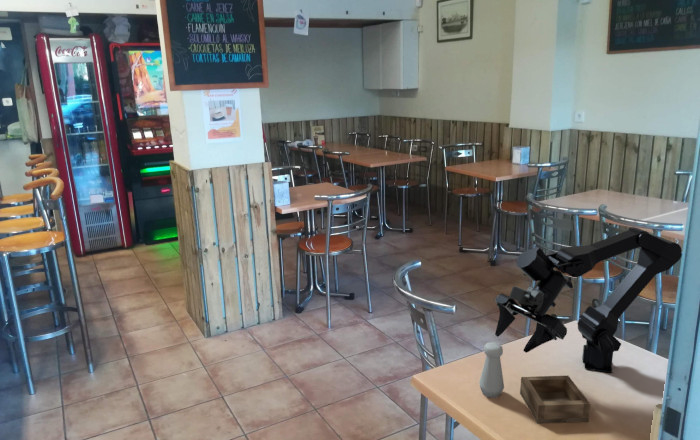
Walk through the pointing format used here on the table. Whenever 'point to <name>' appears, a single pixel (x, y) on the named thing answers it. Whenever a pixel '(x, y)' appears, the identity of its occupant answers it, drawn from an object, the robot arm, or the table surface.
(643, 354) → the table surface
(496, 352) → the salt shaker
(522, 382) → the socket block
